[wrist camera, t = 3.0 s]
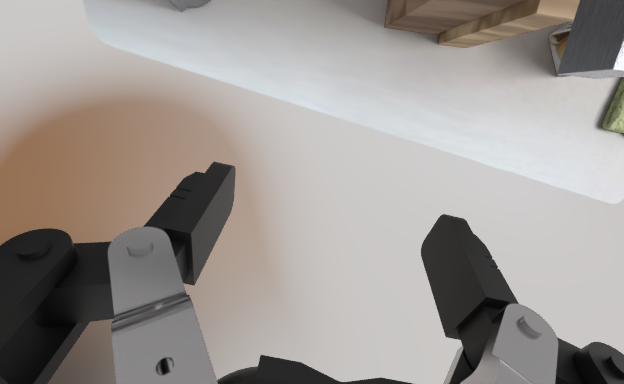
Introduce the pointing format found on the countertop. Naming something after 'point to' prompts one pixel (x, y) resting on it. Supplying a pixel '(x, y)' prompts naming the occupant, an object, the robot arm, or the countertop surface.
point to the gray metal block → (595, 41)
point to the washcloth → (616, 111)
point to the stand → (477, 18)
